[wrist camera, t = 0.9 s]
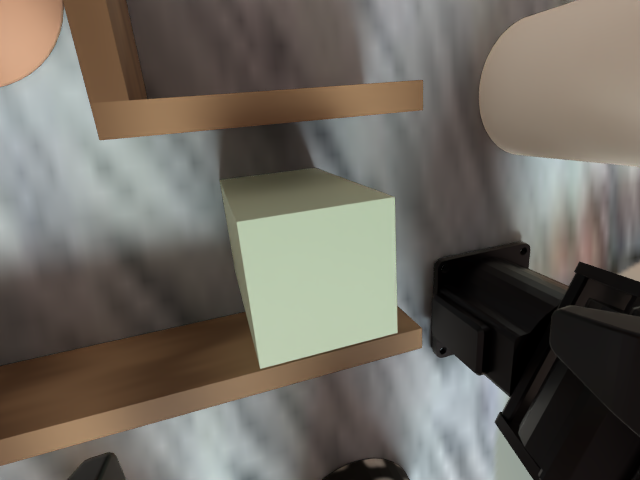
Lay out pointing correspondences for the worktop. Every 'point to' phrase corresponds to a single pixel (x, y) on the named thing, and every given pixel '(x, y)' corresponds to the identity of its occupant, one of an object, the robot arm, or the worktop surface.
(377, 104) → the channel
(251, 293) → the block
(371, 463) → the white-spotted black cylinder
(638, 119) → the cylindrical container
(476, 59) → the worktop surface
